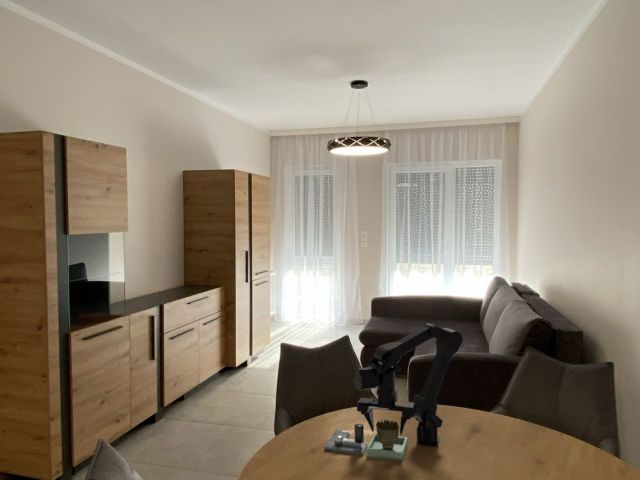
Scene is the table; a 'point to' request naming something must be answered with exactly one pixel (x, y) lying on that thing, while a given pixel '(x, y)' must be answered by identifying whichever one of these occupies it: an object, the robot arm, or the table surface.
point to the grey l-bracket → (344, 445)
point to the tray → (393, 454)
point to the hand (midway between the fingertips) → (387, 432)
